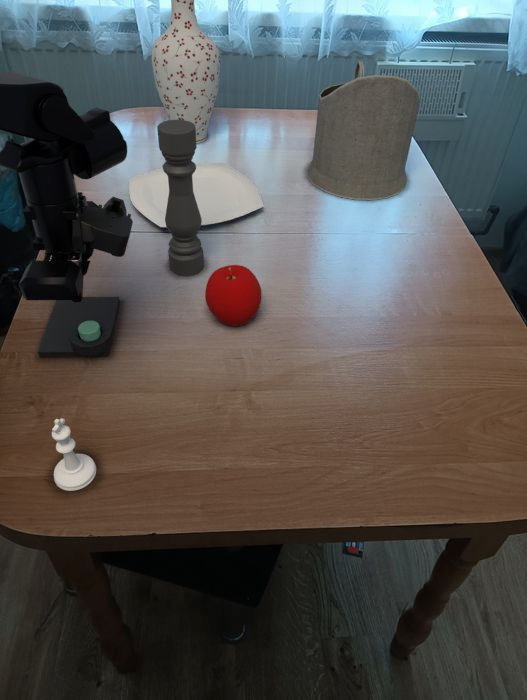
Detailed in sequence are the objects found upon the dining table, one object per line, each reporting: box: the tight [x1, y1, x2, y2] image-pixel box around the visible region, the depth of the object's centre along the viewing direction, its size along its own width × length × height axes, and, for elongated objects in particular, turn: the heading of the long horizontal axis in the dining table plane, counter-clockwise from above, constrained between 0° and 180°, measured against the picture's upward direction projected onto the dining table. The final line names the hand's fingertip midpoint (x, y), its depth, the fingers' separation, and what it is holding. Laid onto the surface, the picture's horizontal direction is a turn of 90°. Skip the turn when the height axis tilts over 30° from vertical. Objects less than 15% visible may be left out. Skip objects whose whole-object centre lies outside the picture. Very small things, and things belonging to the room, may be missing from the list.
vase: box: [150, 0, 221, 145], centre depth 127 cm, size 16×16×35 cm
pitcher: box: [306, 60, 421, 201], centre depth 121 cm, size 23×32×25 cm
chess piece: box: [51, 417, 97, 492], centre depth 62 cm, size 5×5×10 cm
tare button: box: [78, 321, 101, 341], centre depth 79 cm, size 3×3×2 cm
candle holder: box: [156, 119, 205, 277], centre depth 89 cm, size 6×6×25 cm
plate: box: [128, 162, 264, 229], centre depth 115 cm, size 27×27×2 cm
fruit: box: [204, 264, 263, 327], centre depth 84 cm, size 9×9×10 cm
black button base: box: [37, 296, 121, 359], centre depth 83 cm, size 14×10×3 cm
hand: (78, 300), depth 73 cm, fingers closed
